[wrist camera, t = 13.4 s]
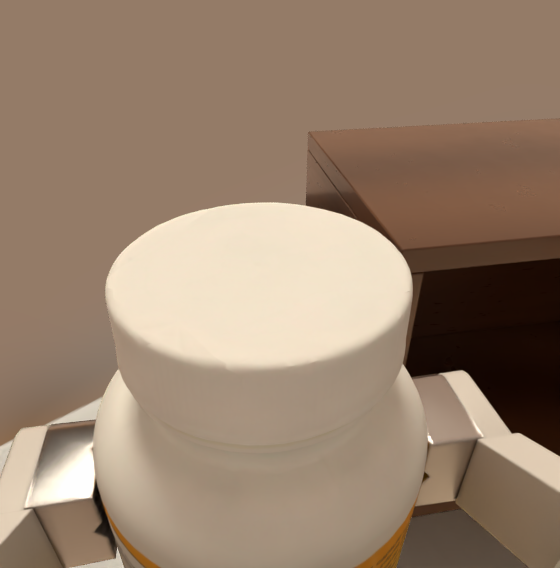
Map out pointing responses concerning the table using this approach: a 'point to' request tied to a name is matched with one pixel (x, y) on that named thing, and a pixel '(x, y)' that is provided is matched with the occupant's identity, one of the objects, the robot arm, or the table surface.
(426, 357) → the cabinet
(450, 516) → the table surface
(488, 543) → the table surface
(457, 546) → the table surface
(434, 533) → the table surface
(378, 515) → the supplement bottle
